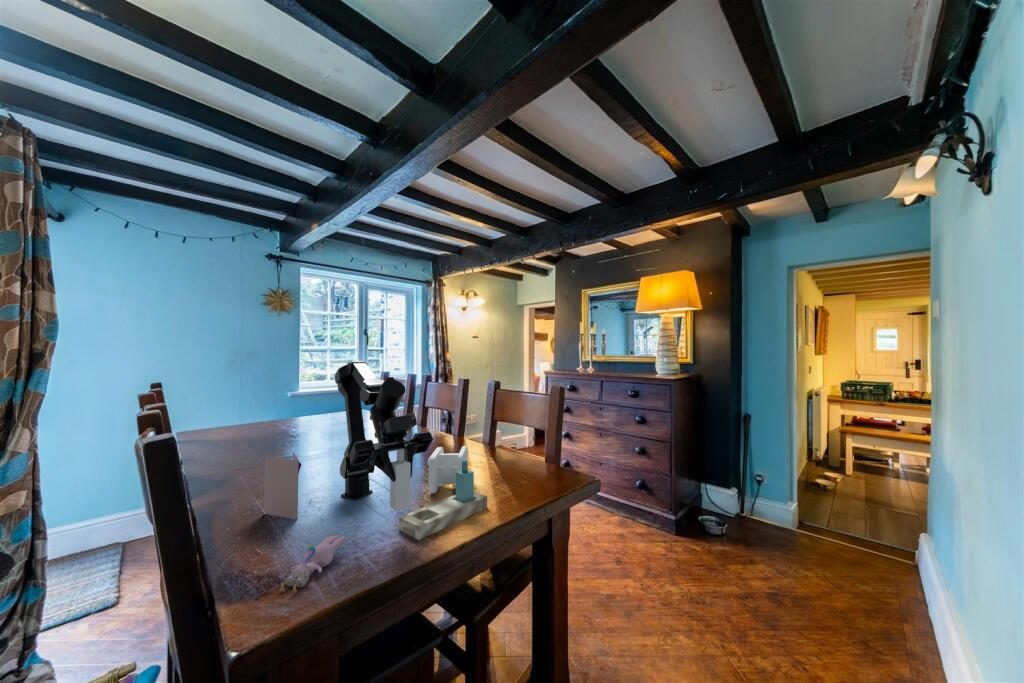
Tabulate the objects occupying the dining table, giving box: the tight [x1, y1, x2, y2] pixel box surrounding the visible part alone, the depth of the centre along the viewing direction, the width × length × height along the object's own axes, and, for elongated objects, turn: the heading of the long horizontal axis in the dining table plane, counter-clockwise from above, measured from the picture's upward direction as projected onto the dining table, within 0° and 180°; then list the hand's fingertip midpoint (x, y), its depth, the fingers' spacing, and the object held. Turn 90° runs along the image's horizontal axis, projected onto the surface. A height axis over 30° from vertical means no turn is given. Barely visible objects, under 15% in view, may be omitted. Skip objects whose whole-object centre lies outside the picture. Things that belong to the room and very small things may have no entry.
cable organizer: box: [427, 445, 469, 494], centre depth 114 cm, size 15×11×12 cm
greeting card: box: [263, 451, 302, 521], centre depth 94 cm, size 11×7×15 cm, turn 37°
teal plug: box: [455, 459, 475, 503], centre depth 97 cm, size 3×3×13 cm
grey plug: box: [389, 448, 411, 512], centre depth 83 cm, size 3×3×13 cm
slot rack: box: [398, 491, 488, 541], centre depth 92 cm, size 22×8×3 cm, turn 141°
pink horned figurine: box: [279, 535, 346, 594], centre depth 70 cm, size 6×6×15 cm
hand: (402, 478), depth 82 cm, fingers closed on grey plug, 3 cm apart
